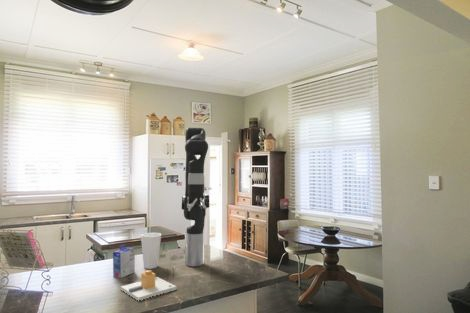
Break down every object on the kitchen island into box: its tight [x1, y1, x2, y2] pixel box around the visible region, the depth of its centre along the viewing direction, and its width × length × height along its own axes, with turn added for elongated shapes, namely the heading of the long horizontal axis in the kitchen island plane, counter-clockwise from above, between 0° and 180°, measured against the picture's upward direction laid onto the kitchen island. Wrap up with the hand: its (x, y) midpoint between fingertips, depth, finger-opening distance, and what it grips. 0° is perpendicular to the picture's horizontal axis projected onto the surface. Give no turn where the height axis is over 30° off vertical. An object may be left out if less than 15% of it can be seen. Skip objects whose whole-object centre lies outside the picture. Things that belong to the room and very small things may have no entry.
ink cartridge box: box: [112, 243, 136, 279], centre depth 162 cm, size 10×6×14 cm, turn 155°
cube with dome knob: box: [140, 269, 156, 289], centre depth 142 cm, size 4×4×6 cm
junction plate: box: [120, 276, 177, 302], centre depth 142 cm, size 16×18×6 cm
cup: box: [140, 232, 162, 270], centre depth 174 cm, size 11×10×17 cm
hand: (195, 218), depth 150 cm, fingers open, 8 cm apart
